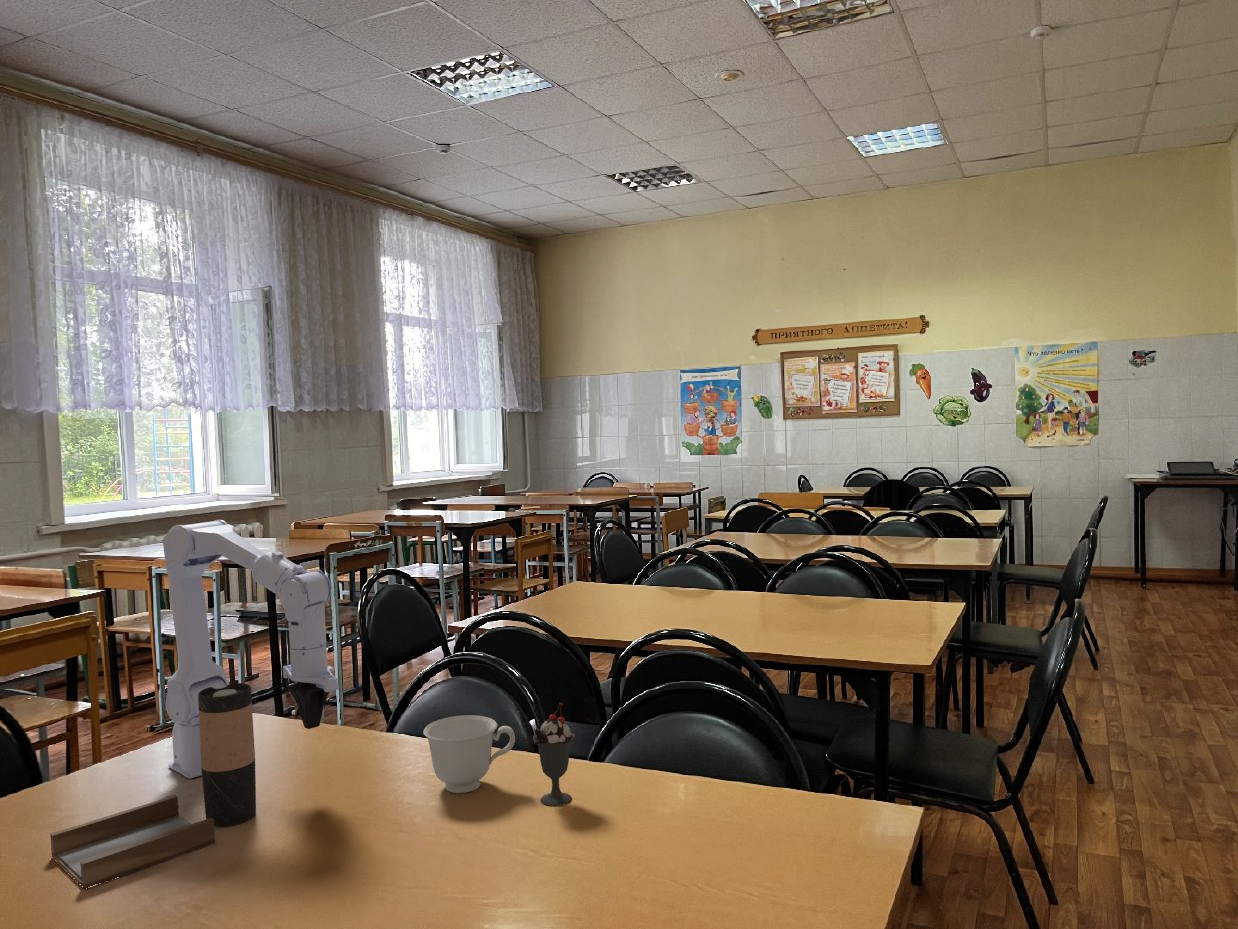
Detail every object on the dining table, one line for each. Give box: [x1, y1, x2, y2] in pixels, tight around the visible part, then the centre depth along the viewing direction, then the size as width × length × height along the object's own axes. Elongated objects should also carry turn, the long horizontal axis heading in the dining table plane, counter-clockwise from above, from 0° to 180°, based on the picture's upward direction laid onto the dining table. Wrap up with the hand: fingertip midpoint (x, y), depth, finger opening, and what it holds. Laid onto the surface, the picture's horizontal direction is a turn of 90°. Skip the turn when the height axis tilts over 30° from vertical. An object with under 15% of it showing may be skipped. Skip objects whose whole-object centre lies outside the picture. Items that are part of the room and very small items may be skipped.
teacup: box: [422, 714, 516, 794], centre depth 148 cm, size 12×15×10 cm
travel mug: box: [198, 682, 257, 828], centre depth 139 cm, size 8×8×20 cm
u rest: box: [50, 794, 216, 890], centre depth 129 cm, size 14×17×4 cm
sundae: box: [532, 702, 576, 807], centre depth 142 cm, size 7×7×15 cm
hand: (312, 727), depth 149 cm, fingers closed
